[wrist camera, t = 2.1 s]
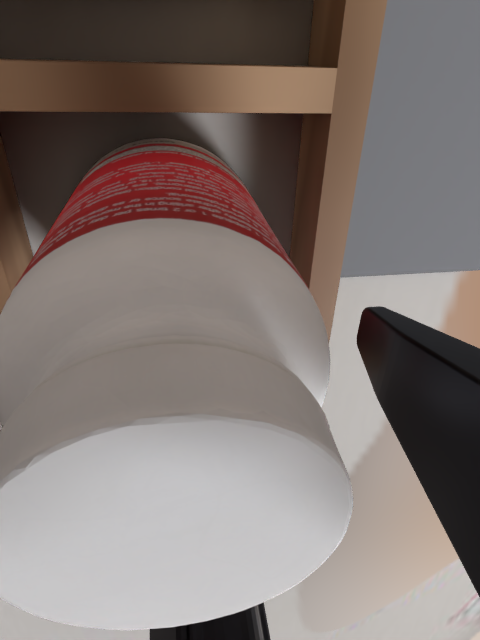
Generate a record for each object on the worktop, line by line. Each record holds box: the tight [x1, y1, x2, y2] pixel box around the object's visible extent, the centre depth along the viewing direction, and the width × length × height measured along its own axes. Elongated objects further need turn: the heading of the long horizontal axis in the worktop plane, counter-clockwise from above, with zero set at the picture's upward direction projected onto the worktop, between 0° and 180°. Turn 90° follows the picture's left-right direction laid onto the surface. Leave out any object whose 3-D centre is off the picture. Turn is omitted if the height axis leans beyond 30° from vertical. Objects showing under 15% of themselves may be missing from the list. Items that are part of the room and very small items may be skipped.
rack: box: [0, 0, 387, 342], centre depth 11 cm, size 11×19×2 cm, turn 178°
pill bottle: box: [0, 138, 353, 631], centre depth 10 cm, size 6×6×11 cm
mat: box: [340, 0, 480, 277], centre depth 14 cm, size 9×9×1 cm
